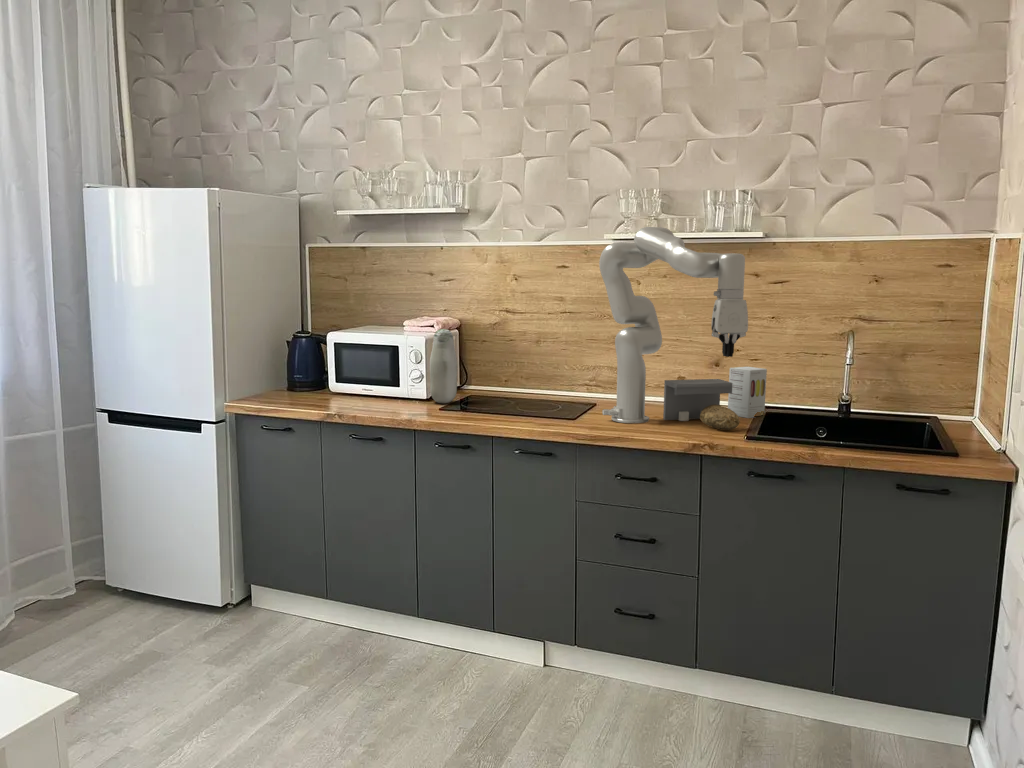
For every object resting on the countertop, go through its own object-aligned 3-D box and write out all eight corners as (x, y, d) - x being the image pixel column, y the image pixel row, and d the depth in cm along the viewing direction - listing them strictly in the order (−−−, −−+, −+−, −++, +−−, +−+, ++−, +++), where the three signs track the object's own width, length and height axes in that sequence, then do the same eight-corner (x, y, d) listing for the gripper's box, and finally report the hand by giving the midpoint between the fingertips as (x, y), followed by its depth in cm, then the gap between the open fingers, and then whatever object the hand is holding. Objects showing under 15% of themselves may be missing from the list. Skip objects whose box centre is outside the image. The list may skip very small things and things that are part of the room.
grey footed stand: (675, 424, 277) (676, 384, 275) (663, 419, 286) (664, 380, 285) (730, 422, 281) (732, 382, 279) (717, 417, 291) (718, 378, 289)
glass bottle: (426, 401, 319) (426, 328, 315) (451, 400, 323) (451, 327, 319) (435, 405, 310) (434, 330, 306) (461, 404, 314) (460, 329, 311)
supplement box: (747, 418, 289) (750, 370, 287) (726, 414, 296) (728, 367, 294) (765, 416, 295) (767, 368, 292) (744, 412, 302) (746, 365, 300)
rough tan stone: (699, 424, 285) (694, 422, 266) (705, 402, 285) (700, 398, 266) (739, 434, 281) (736, 433, 262) (745, 411, 281) (742, 408, 262)
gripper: (713, 295, 245) (710, 358, 247) (759, 295, 248) (756, 357, 250) (701, 294, 252) (699, 355, 254) (747, 294, 255) (744, 354, 258)
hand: (727, 356), depth 252 cm, fingers closed
